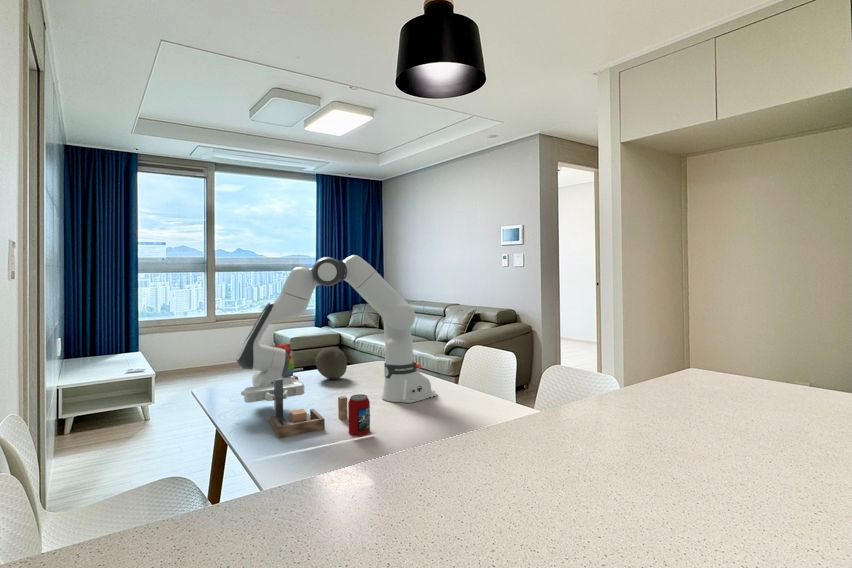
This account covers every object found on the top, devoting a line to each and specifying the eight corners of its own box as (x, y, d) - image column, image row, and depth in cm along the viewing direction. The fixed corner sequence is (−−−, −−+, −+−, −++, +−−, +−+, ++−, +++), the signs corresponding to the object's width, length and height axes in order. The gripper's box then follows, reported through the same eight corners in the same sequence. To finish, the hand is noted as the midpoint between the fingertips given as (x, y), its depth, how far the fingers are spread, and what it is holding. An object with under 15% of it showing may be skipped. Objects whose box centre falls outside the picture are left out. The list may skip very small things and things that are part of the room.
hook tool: (298, 415, 162) (298, 375, 161) (309, 426, 150) (308, 384, 150) (274, 419, 158) (273, 378, 157) (283, 431, 146) (282, 387, 146)
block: (303, 421, 157) (303, 408, 157) (307, 425, 153) (306, 412, 153) (289, 424, 155) (289, 410, 155) (293, 428, 151) (293, 414, 151)
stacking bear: (299, 379, 217) (298, 341, 217) (291, 384, 207) (290, 345, 207) (277, 378, 219) (276, 341, 218) (268, 384, 208) (267, 344, 208)
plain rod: (345, 418, 162) (344, 395, 161) (347, 420, 160) (347, 397, 159) (338, 419, 161) (338, 397, 160) (340, 421, 159) (340, 398, 158)
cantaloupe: (332, 374, 226) (332, 343, 225) (353, 378, 218) (353, 346, 217) (309, 380, 215) (309, 348, 214) (331, 385, 206) (330, 351, 206)
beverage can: (366, 438, 143) (365, 400, 143) (345, 437, 145) (344, 399, 144) (372, 430, 150) (372, 394, 149) (353, 429, 151) (352, 393, 151)
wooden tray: (308, 415, 166) (308, 403, 166) (324, 431, 150) (324, 418, 149) (266, 422, 159) (266, 410, 158) (279, 440, 142) (278, 427, 142)
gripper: (239, 383, 162) (246, 392, 151) (298, 375, 173) (308, 383, 161) (240, 400, 163) (246, 411, 151) (298, 392, 173) (308, 401, 161)
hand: (279, 397), depth 156 cm, fingers closed on hook tool, 2 cm apart
